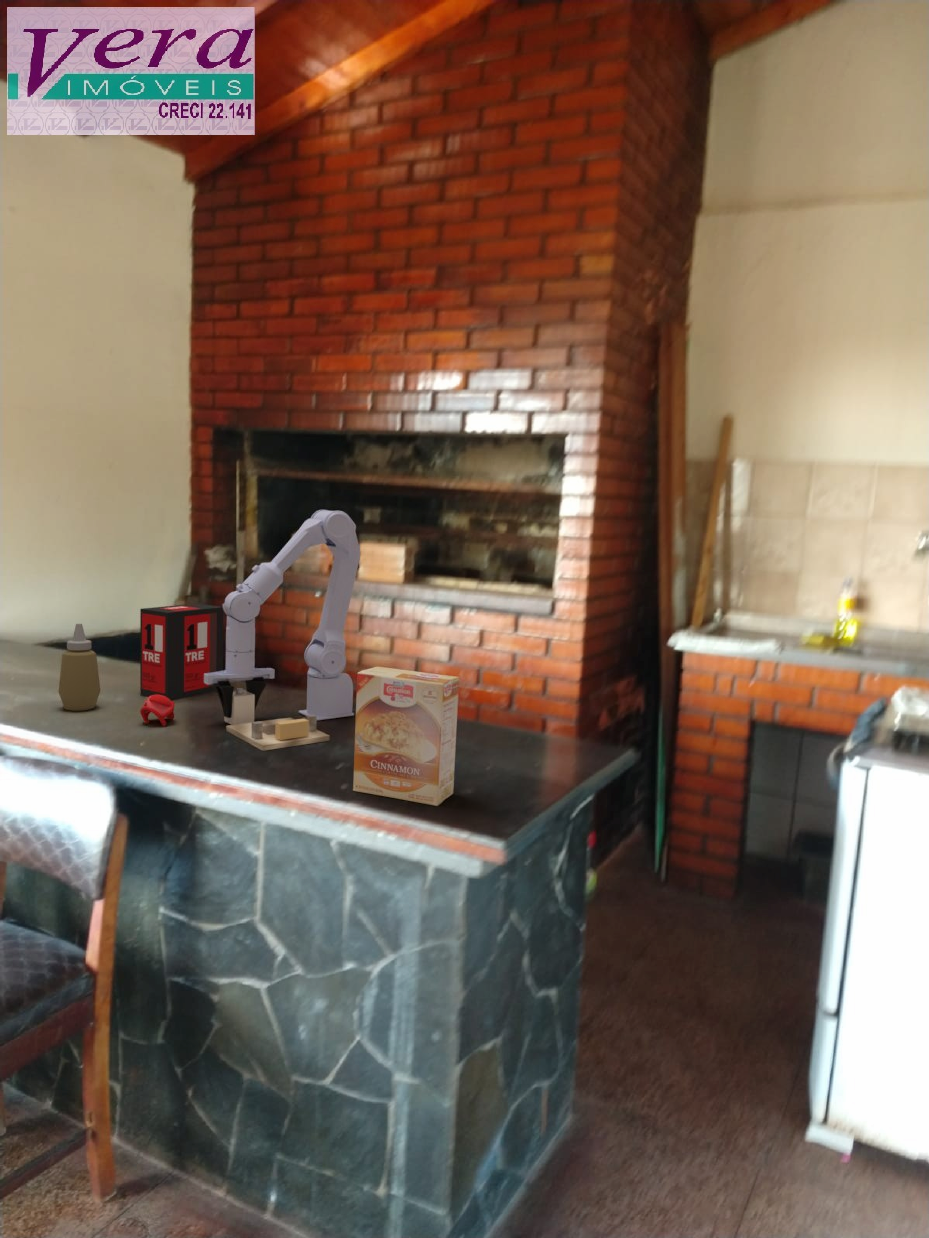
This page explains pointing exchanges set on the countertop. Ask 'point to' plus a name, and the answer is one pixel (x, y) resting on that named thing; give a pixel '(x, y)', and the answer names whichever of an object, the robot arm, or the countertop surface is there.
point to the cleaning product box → (180, 649)
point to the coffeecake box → (405, 734)
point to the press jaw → (291, 729)
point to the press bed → (264, 734)
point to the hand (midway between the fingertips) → (239, 715)
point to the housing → (242, 707)
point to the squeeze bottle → (79, 674)
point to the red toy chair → (158, 708)
